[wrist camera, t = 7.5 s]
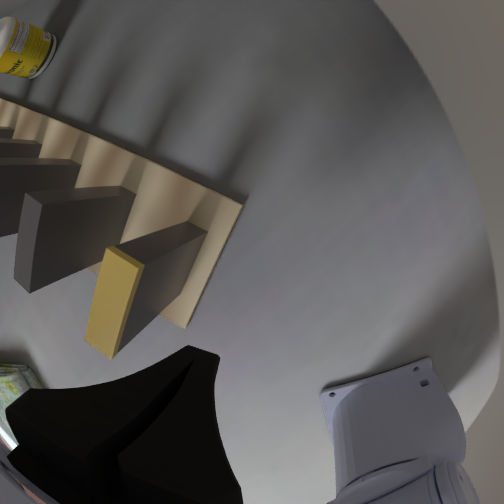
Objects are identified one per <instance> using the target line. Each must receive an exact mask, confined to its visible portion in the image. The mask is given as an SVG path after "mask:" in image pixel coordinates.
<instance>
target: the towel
mask: <svg viewBox="0 0 504 504" xmlns="http://www.w3.org/2000/svg"><path fill="white" fill-rule="evenodd" d="M30 388H38V389H43V387H42V385H41V384H40V382H39V380H38V379H37V377H36V375H35V374H34V373H33V371H32V369H31V368H28V367H27V366H26V365H15V364H6V363H0V419H1V421H2V422H3V424H4V426H5V427H6V429H7V431H8V432H9V434H10V436H11V437H12V438H13V440H14V441H15V443H16V444H17V445H19V444H18V442H17V440H16V438H15V436H14V434H13V432H12V430H11V428H10V426H9V424H8V422H7V419H6V415H5V409H6V408H7V407H8V406H9V405H10V404H11V403H12V402H14V401H15V400H16V399H17V398H18V397H20V396H21V395H22V394H23V393H25V392H26V391H27V390H29V389H30Z"/></svg>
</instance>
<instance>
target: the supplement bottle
mask: <svg viewBox="0 0 504 504" xmlns="http://www.w3.org/2000/svg"><path fill="white" fill-rule="evenodd" d="M55 49H56V37H55V36H54V35H53V34H52V33H50V32H47V31H45V30H43V29H40V28H38V27H36V26H33V25H31V24H28V23H26V22H23V21H21V20H18V19H15V18H12V17H4V18H2V19H1V20H0V72H2V73H6V74H11V75H15V76H19V77H23V78H28V79H31V78H34V77H36V76H38V75H39V74H40V73H42V72H43V70H44V69H45V68H46V67H47V66H48V64H49V62H50V61H51V59H52V57H53V54H54V52H55Z"/></svg>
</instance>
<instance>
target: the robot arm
mask: <svg viewBox="0 0 504 504" xmlns="http://www.w3.org/2000/svg"><path fill="white" fill-rule="evenodd" d="M219 361H220V357H219V356H218V355H217V354H214V353H211V352H208V351H205V350H202V349H199V348H196V347H193V346H190V345H187V346H185V347H183V348H182V349H180V350H178V351H177V352H175V353H173V354H172V355H170V356H168V357H167V358H165V359H163V360H161V361H159V362H157V363H155V364H154V365H152V366H150V367H147V368H145V369H143V370H141V371H138V372H136V373H134V374H131V375H129V376H126V377H123V378H120V379H117V380H114V381H110V382H106V383H101V384H97V385H92V386H86V387H78V388H67V389H38V388H30V389H29V390H27V391H26V392H25V393H23V394H22V395H21V396H20V397H18V398H17V399H16V400H15V401H14V402H12V403H11V404H10V405H9V406H8V407H7V408H6V409H5V415H6V419H7V422H8V424H9V426H10V428H11V430H12V432H13V434H14V436H15V438H16V440H17V442H18V444H19V445H18V446H17V447H16V448H15V449H14V450H13V451H12V452H11V451H10V450H8V449H7V448H6V447H5V446H4V445H3V444H2V443H1V442H0V504H39V503H38V502H37V501H36V500H34V499H33V498H32V497H30V496H29V495H28V494H27V493H26V492H25V490H24V488H23V487H22V485H24V486H25V487H26V488H27V489H28V490H30V491H31V492H32V493H34V494H35V495H36V496H37V497H39V498H40V499H41V500H43V501H44V502H46V503H47V504H243V498H242V492H241V487H240V485H239V483H238V481H237V479H236V477H235V475H234V473H233V471H232V469H231V466H230V464H229V461H228V459H227V456H226V453H225V450H224V447H223V444H222V440H221V437H220V433H219V428H218V423H217V417H216V410H215V398H214V384H215V379H216V374H217V370H218V366H219ZM415 367H417V368H416V369H414V368H415ZM331 392H334V394H330V393H331ZM320 399H321V402H322V406H323V409H324V413H325V416H326V420H327V423H328V427H329V430H330V434H331V437H332V441H333V444H334V455H335V474H336V499H334V500H333V501H331V502H328V503H327V504H481V503H480V500H479V497H478V495H477V492H476V490H475V488H474V486H473V484H472V481H471V480H470V478H469V476H468V474H467V473H466V471H465V470H464V468H463V467H462V466H461V465H462V463H463V461H464V459H465V453H466V438H465V432H464V428H463V424H462V421H461V418H460V415H459V413H458V411H457V409H456V407H455V405H454V404H453V402H452V400H451V398H450V397H449V395H448V393H447V391H446V390H445V388H444V386H443V385H442V383H441V381H440V380H439V378H438V376H437V375H436V373H435V372H434V370H433V362H432V360H431V359H430V358H425V359H422V360H419V361H417V362H414V363H411V364H408V365H406V366H403V367H400V368H397V369H394V370H391V371H388V372H385V373H382V374H378V375H375V376H372V377H369V378H365V379H362V380H358V381H355V382H351V383H347V384H343V385H340V386H336V387H332V388H327V389H324V390H322V391H321V392H320ZM15 478H16V479H17V480H18V481H19V482H20V483H21V484H22V485H21V484H20V483H19V482H18V481H17V480H16V479H15Z"/></svg>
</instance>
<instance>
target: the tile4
mask: <svg viewBox="0 0 504 504" xmlns="http://www.w3.org/2000/svg"><path fill="white" fill-rule="evenodd" d="M41 148H42V144H40V143H38V142H36V141H35V140H23V139H6V138H0V158H39V154H40V151H41Z"/></svg>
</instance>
